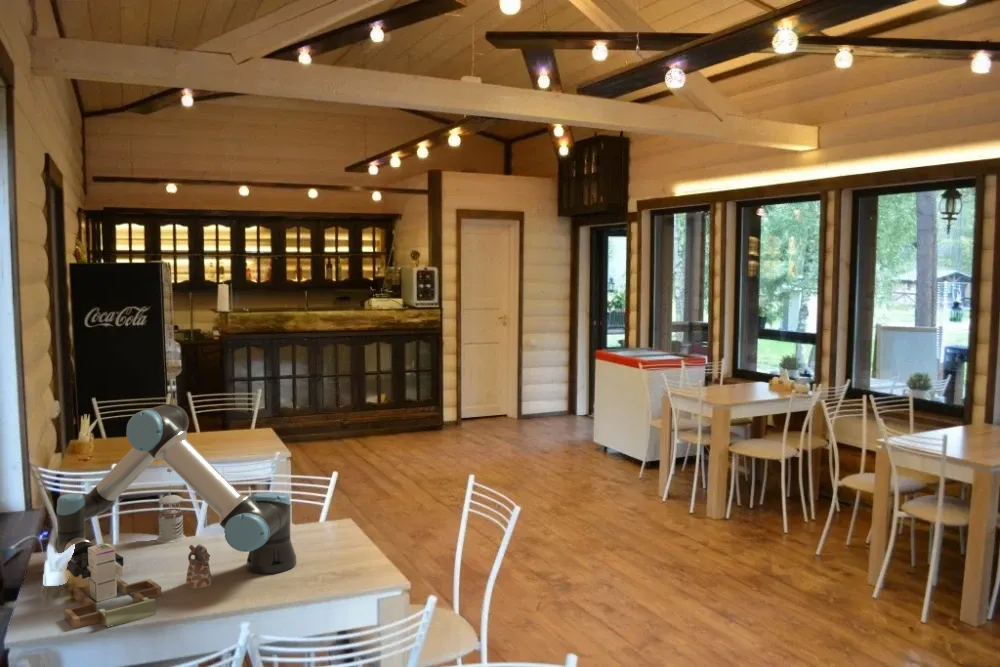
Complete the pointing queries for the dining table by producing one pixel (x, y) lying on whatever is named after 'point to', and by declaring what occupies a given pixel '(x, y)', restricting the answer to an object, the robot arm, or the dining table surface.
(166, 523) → the french press
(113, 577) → the syrup box
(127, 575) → the dining table surface
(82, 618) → the channel
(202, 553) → the figurine
